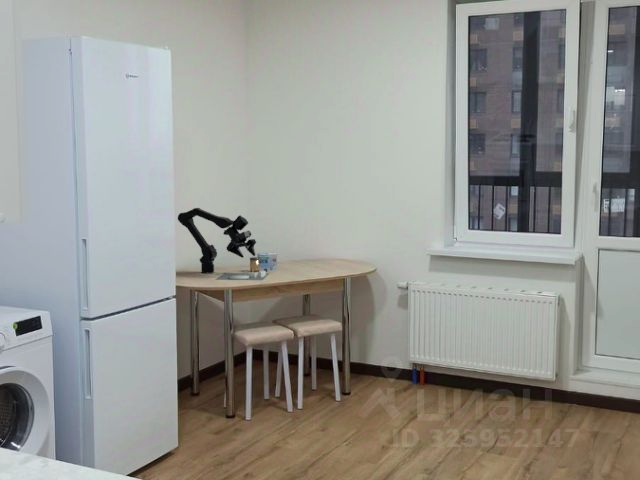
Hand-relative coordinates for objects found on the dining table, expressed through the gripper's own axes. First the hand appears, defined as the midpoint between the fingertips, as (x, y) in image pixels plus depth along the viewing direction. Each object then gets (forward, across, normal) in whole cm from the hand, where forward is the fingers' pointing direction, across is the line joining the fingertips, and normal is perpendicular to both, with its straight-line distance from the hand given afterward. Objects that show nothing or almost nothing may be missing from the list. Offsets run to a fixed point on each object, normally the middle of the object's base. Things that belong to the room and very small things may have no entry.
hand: (249, 256), depth 432 cm
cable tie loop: (+11, 0, +4) cm, 12 cm away
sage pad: (+10, -12, +5) cm, 16 cm away
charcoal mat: (+8, -6, +7) cm, 13 cm away
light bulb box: (+6, +18, +10) cm, 21 cm away
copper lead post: (+10, 0, +4) cm, 11 cm away
